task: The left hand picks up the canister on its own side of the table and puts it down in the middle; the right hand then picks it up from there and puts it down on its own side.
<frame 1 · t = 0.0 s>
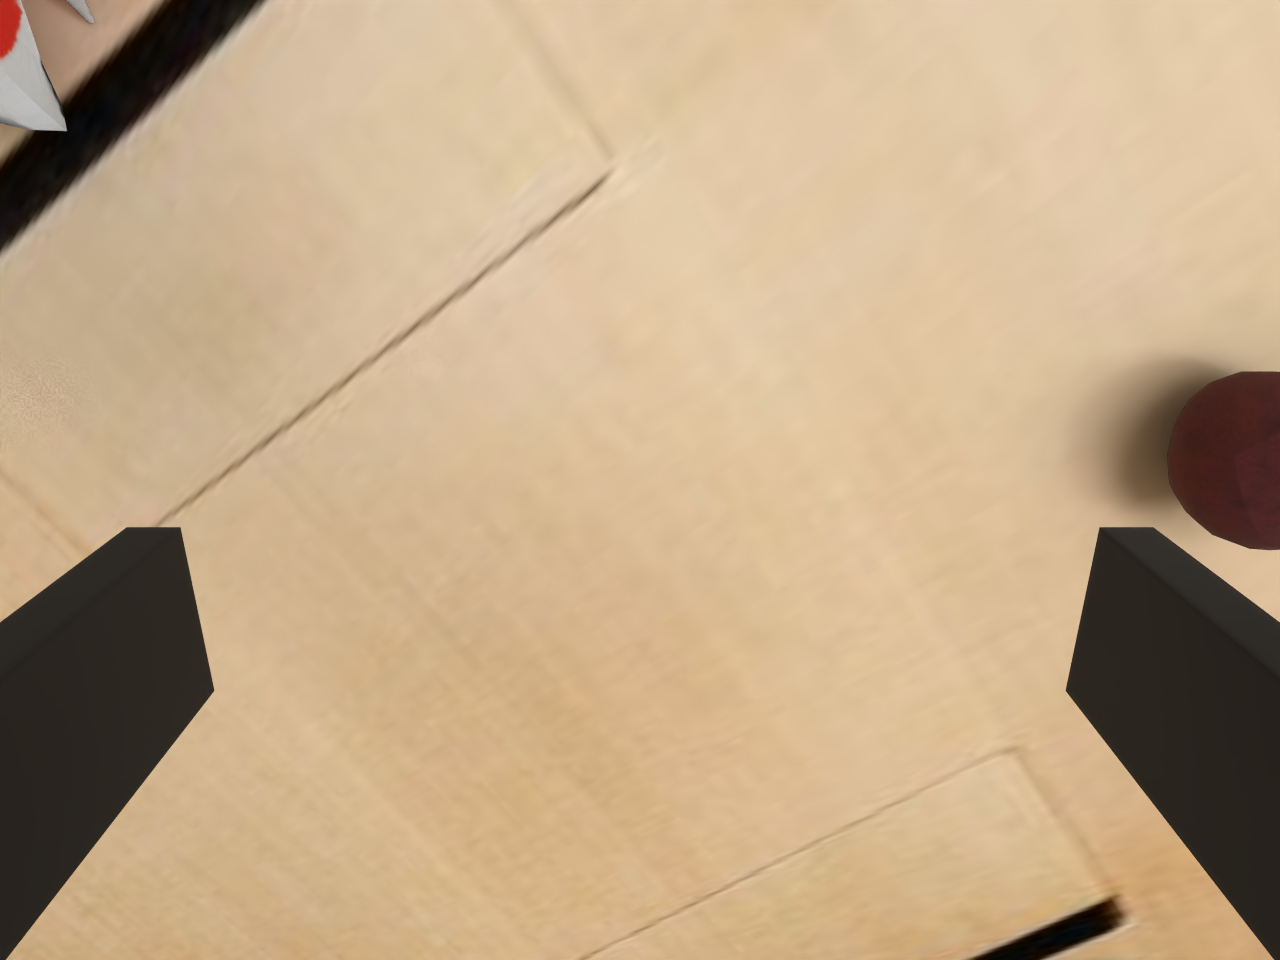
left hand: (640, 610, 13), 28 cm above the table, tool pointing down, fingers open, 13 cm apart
potato: (1211, 431, 41), on the table
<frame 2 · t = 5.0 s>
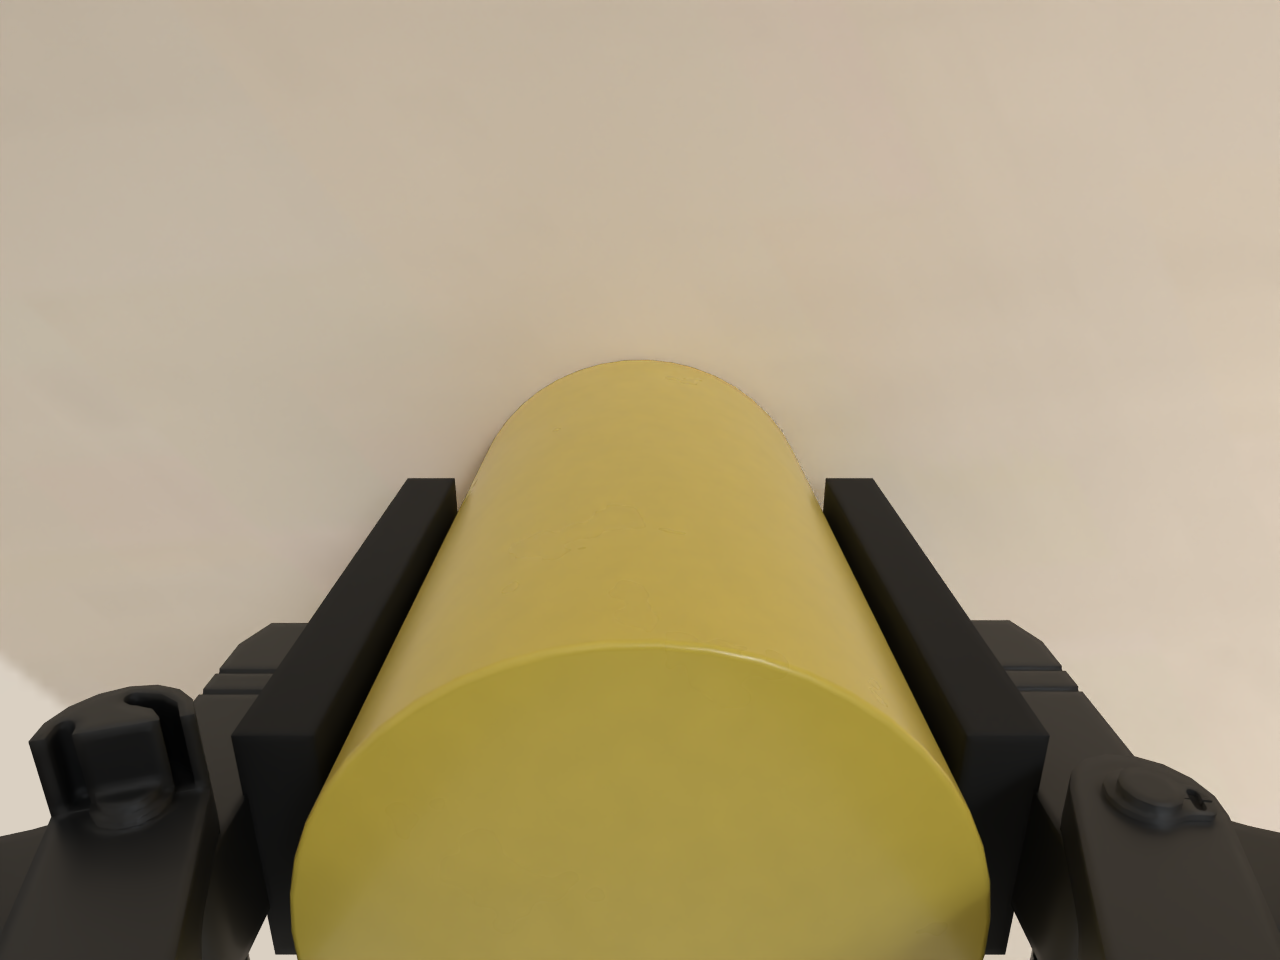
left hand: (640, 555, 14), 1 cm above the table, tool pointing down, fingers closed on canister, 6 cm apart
canister: (640, 521, 16), on the table, touching left hand
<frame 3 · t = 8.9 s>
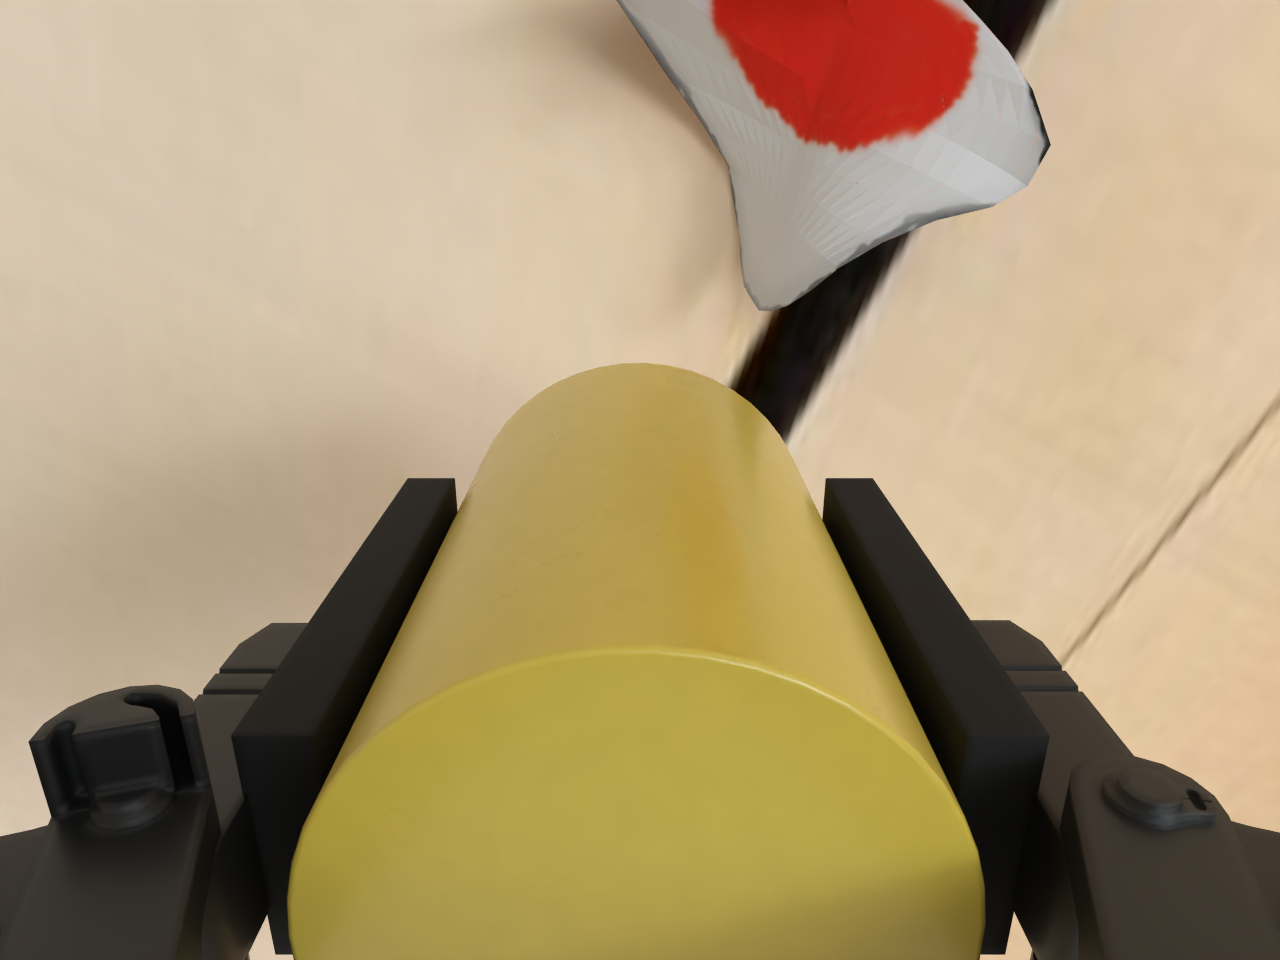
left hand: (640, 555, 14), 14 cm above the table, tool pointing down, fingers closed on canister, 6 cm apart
canister: (638, 524, 16), point 12 cm above the table, touching left hand
fish: (840, 10, 24), on the table
when the left hand's fingers open (3 cm above the table, at t = 12.6 s): canister drops 1 cm, on the table.
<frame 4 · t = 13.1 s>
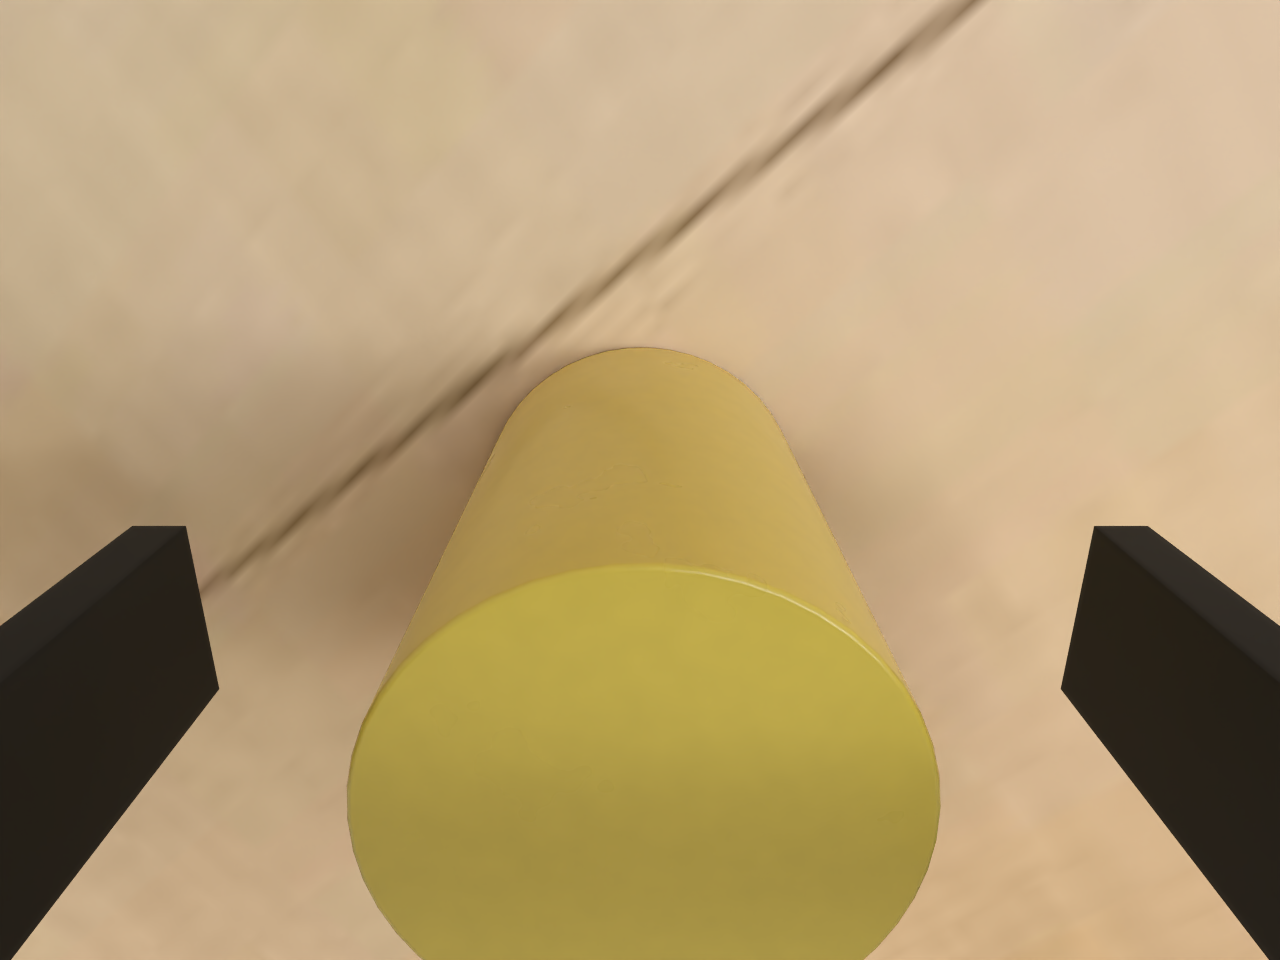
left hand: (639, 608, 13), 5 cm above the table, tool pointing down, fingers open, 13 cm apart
canister: (641, 497, 17), on the table
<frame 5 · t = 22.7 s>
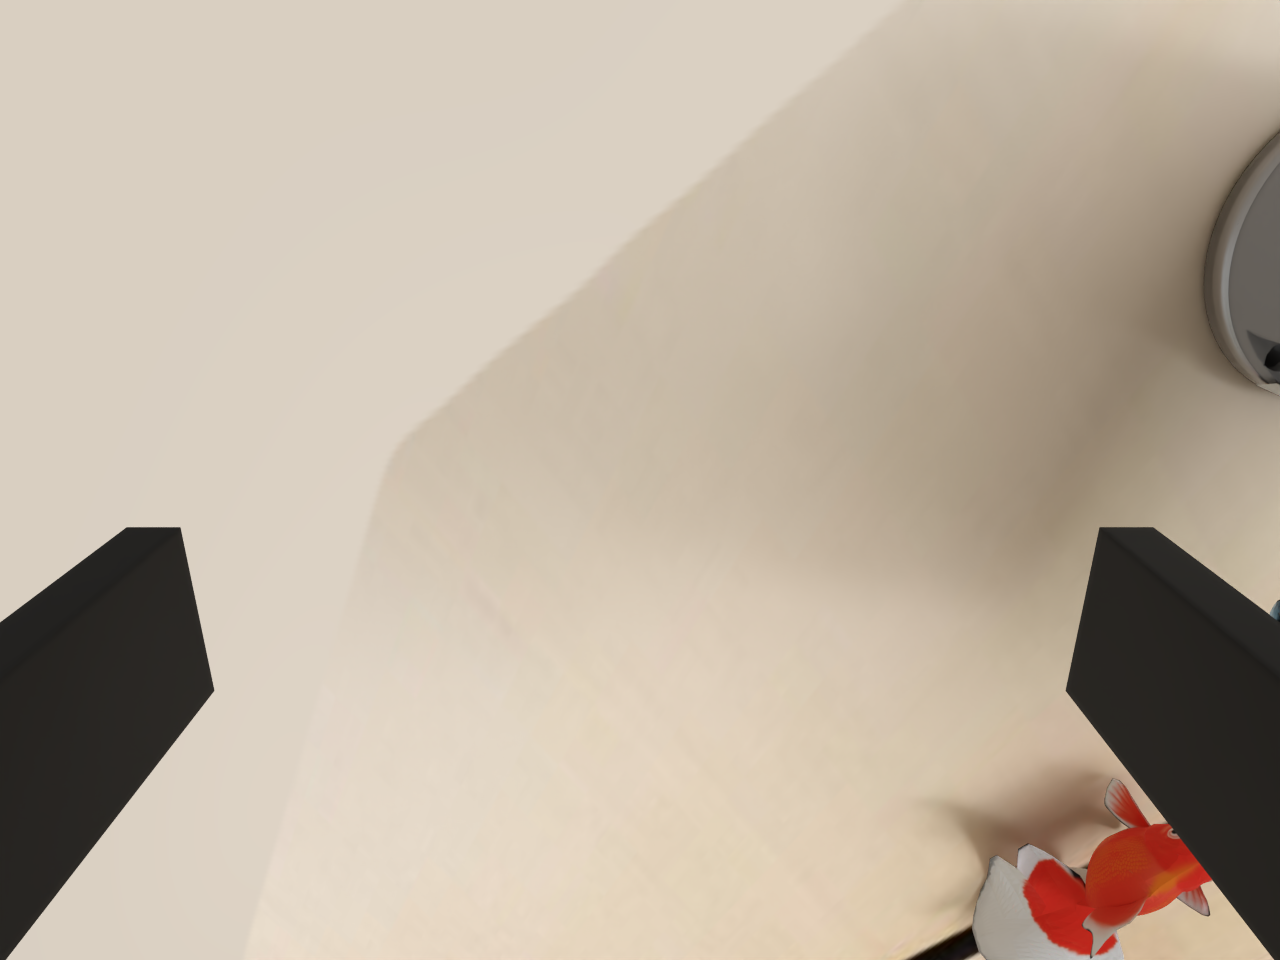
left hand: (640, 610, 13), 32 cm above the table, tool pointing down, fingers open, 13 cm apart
fish: (1058, 847, 56), on the table
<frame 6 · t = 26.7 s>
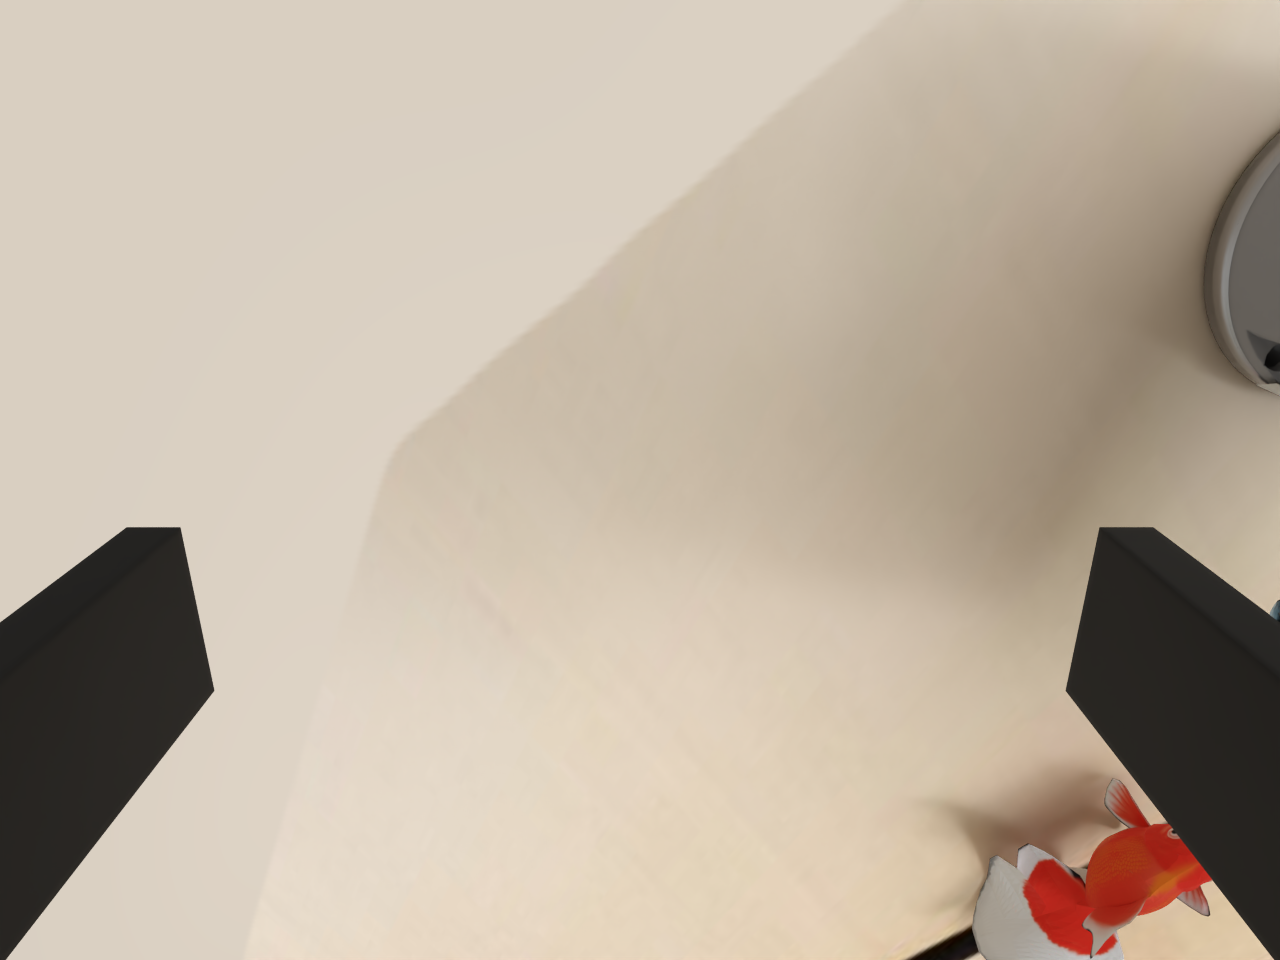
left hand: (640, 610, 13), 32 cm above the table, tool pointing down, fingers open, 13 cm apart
fish: (1058, 847, 56), on the table
when the right hand's fingers open (3 cm above the table, at t = 31.0 s): canister drops 1 cm, on the table.
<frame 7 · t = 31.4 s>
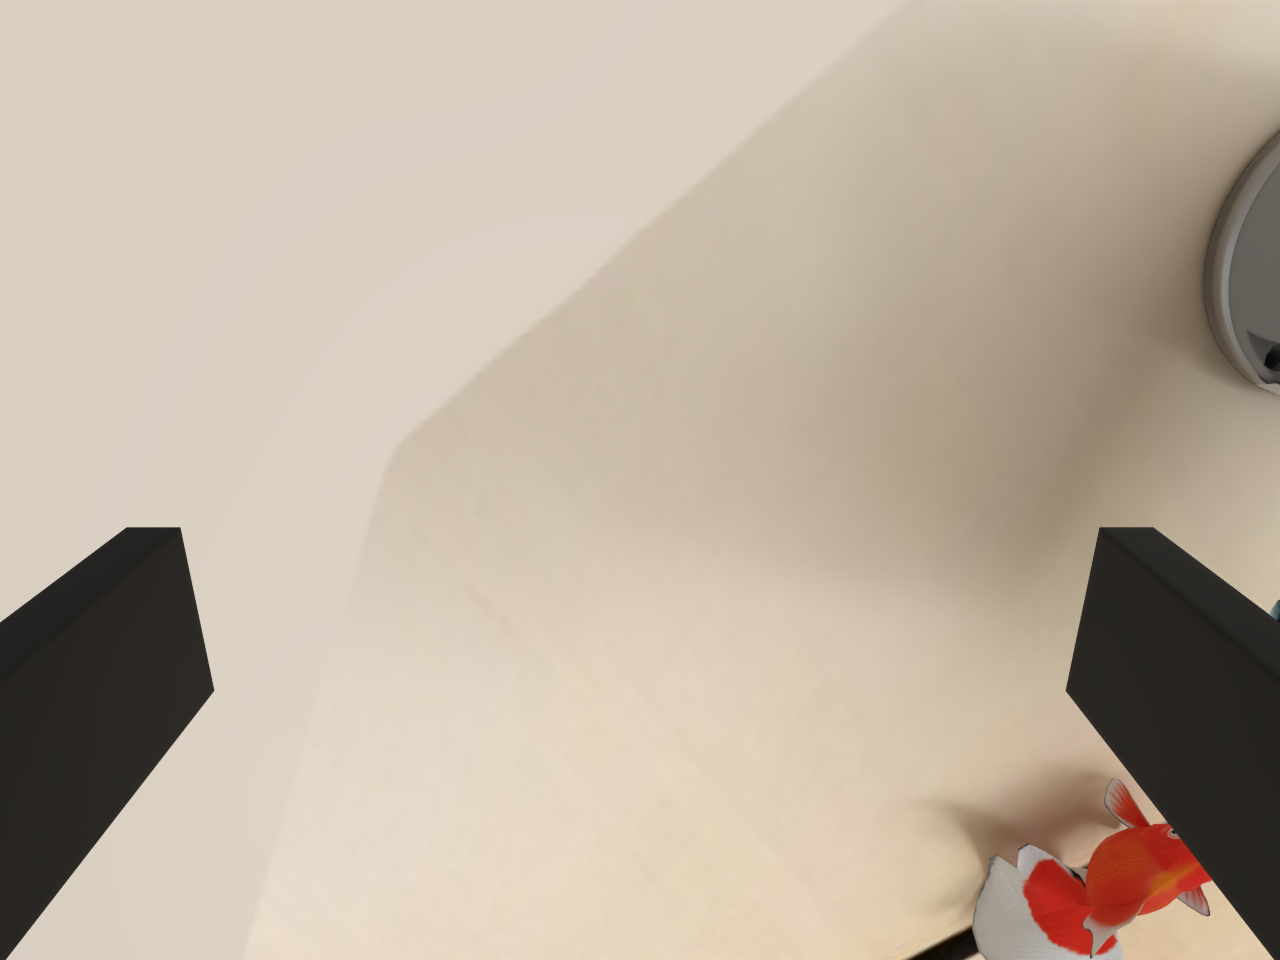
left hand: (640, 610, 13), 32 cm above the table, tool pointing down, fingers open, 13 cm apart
fish: (1058, 847, 56), on the table
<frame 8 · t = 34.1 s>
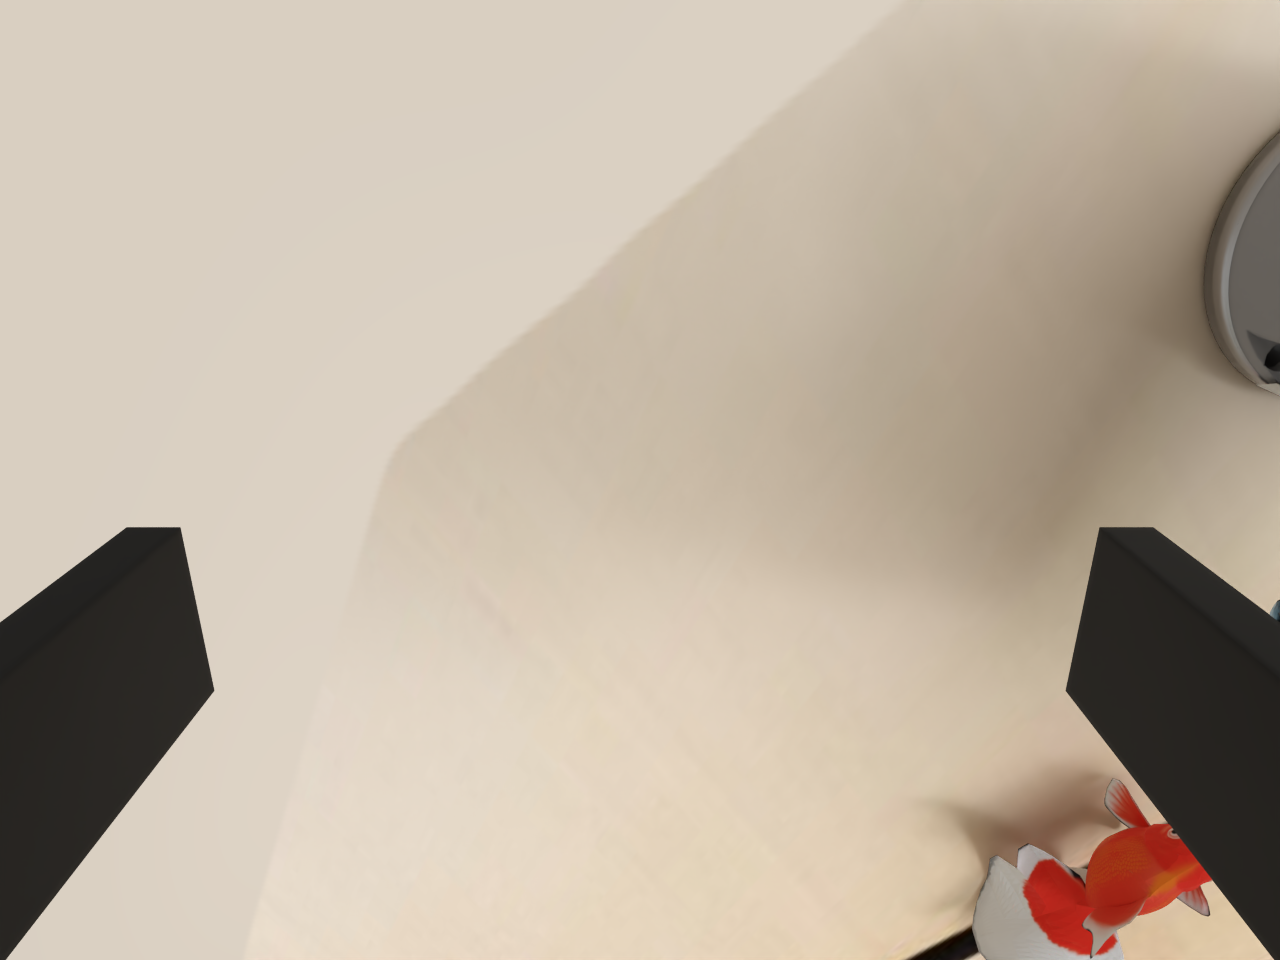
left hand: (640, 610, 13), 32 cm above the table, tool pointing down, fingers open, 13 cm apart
fish: (1058, 847, 56), on the table
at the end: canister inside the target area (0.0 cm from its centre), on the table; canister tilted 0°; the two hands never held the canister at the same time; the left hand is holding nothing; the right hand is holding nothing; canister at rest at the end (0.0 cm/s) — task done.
